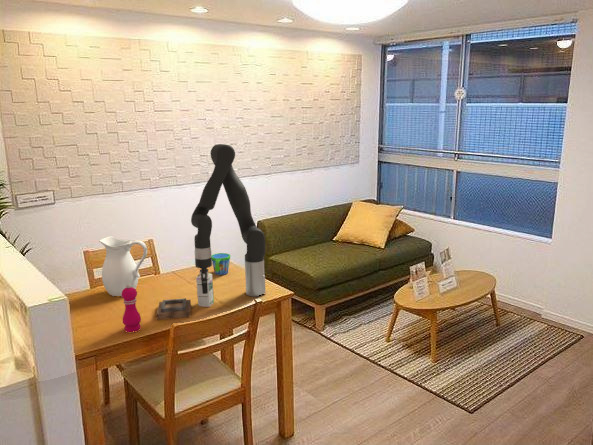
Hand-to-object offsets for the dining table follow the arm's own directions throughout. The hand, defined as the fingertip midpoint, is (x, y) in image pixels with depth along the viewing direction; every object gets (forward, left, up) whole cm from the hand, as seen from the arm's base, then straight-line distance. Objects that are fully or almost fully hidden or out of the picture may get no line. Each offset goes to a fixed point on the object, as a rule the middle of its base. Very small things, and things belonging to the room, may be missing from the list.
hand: (205, 290), depth 227 cm
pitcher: (+38, -22, -7) cm, 44 cm away
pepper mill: (+30, +21, -7) cm, 37 cm away
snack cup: (-9, -43, -7) cm, 44 cm away
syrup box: (0, 0, -7) cm, 7 cm away
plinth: (+14, +6, -7) cm, 17 cm away
